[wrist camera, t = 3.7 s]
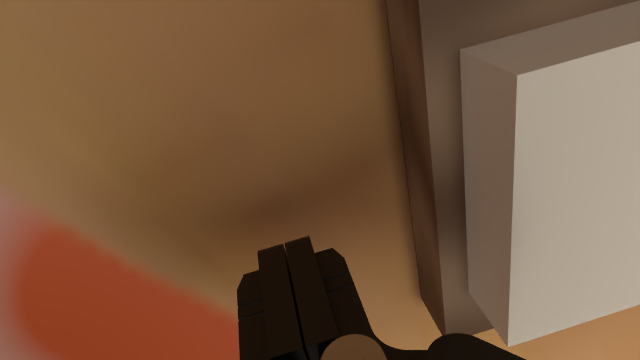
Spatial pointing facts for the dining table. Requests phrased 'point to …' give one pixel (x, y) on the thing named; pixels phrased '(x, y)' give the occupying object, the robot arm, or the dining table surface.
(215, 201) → the dining table surface
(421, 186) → the walnut deck
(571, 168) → the cream tile
